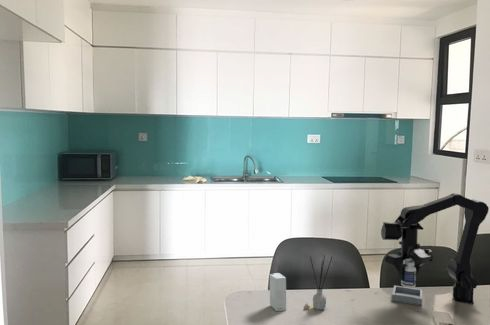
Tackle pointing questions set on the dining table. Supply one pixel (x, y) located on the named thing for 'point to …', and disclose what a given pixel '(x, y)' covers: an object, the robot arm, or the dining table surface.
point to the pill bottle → (409, 275)
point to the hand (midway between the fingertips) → (408, 279)
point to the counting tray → (407, 295)
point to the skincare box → (278, 292)
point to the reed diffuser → (319, 292)
